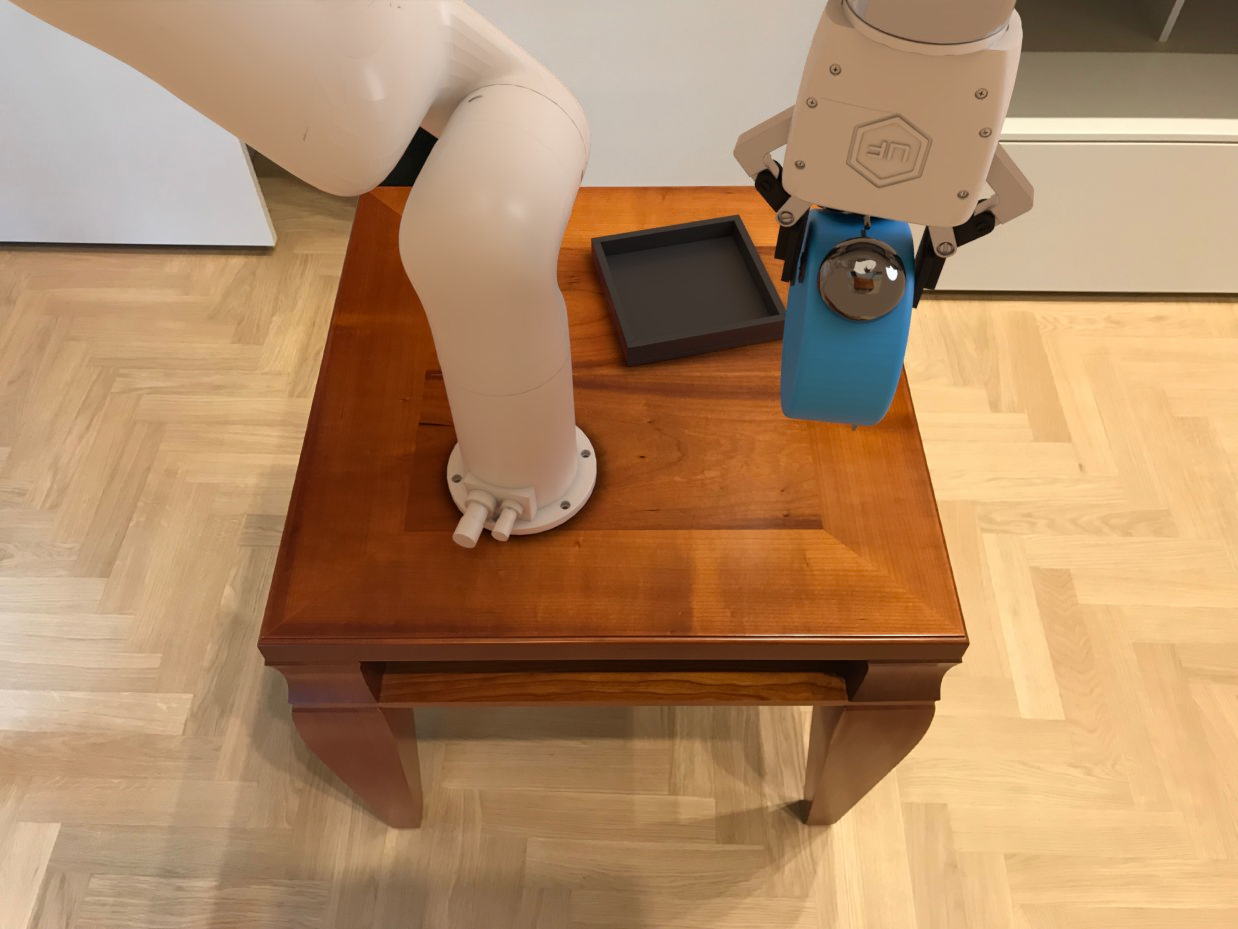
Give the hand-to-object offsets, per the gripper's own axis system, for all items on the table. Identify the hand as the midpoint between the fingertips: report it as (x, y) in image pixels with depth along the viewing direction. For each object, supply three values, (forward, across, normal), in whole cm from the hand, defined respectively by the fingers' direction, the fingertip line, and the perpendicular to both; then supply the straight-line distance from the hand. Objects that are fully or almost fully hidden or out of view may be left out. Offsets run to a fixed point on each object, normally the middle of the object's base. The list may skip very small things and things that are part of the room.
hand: (851, 277), depth 57 cm
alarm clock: (+10, 0, 0) cm, 10 cm away
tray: (+26, -14, +23) cm, 38 cm away
